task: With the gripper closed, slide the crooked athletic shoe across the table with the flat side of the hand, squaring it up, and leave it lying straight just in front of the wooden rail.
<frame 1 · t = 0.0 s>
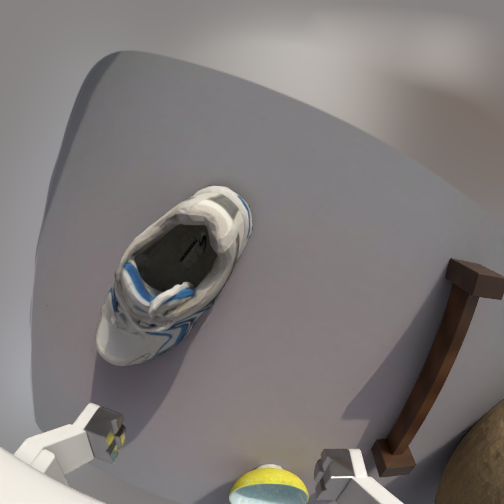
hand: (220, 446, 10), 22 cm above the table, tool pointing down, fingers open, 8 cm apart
wooden rail: (426, 372, 33), on the table
basket: (493, 427, 36), on the table
athletic shoe: (170, 278, 32), on the table
bowl: (269, 470, 39), on the table
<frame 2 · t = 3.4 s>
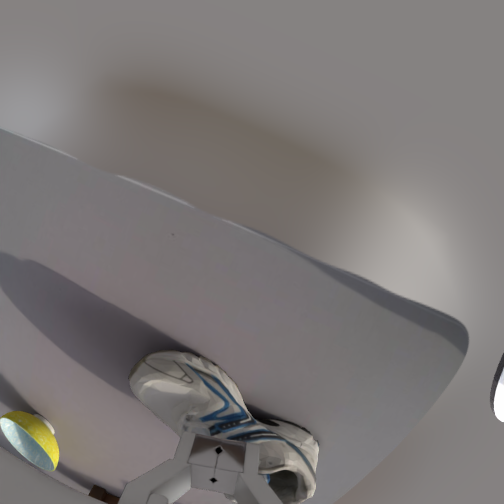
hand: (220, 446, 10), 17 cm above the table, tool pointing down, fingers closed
athletic shoe: (234, 411, 30), on the table
bowl: (44, 423, 35), on the table
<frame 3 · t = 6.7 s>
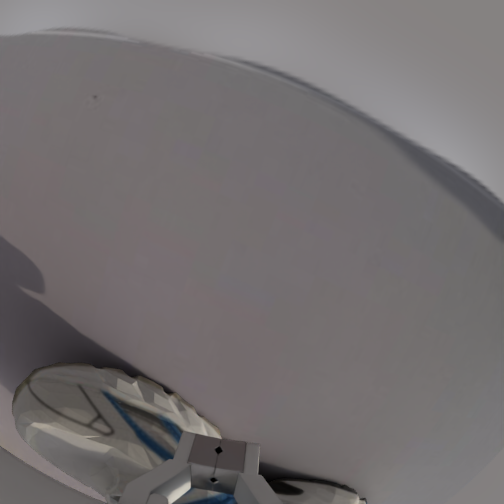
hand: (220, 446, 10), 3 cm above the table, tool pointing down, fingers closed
athletic shoe: (220, 467, 15), on the table, touching gripper
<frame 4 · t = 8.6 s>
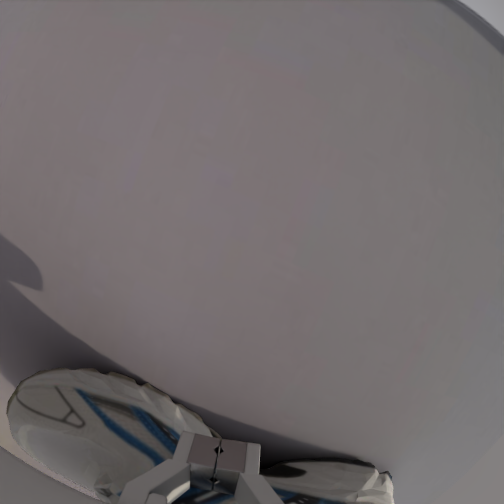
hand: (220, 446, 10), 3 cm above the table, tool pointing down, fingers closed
athletic shoe: (220, 458, 15), on the table, touching gripper
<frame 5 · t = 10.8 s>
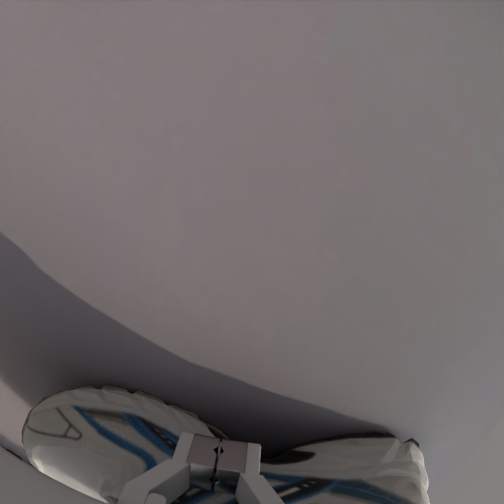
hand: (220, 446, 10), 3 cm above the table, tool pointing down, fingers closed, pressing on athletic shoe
athletic shoe: (232, 454, 15), on the table, touching gripper
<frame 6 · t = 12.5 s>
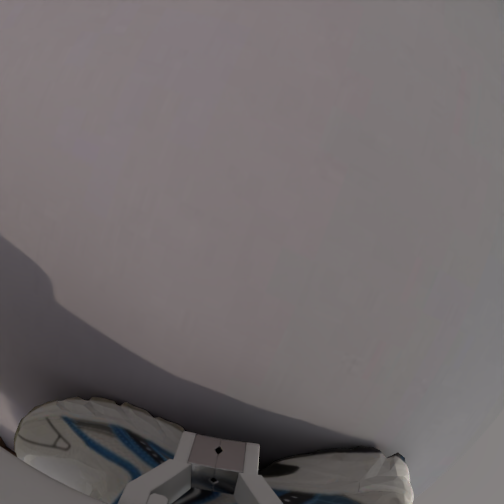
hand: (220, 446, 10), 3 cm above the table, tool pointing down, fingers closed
athletic shoe: (218, 465, 15), on the table
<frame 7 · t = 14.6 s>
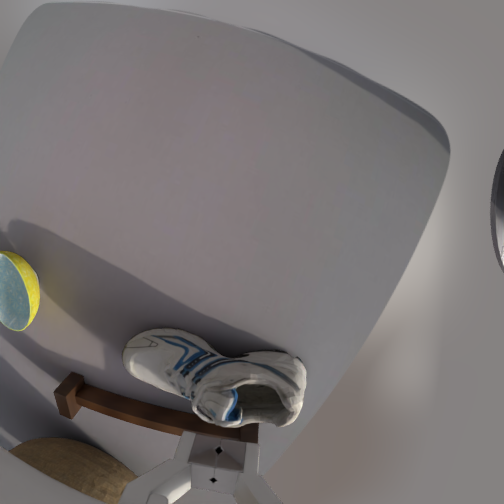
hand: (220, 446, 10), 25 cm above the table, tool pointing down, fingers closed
wooden rail: (157, 409, 41), on the table
basket: (101, 467, 47), on the table
athletic shoe: (217, 361, 38), on the table
bowl: (30, 279, 37), on the table
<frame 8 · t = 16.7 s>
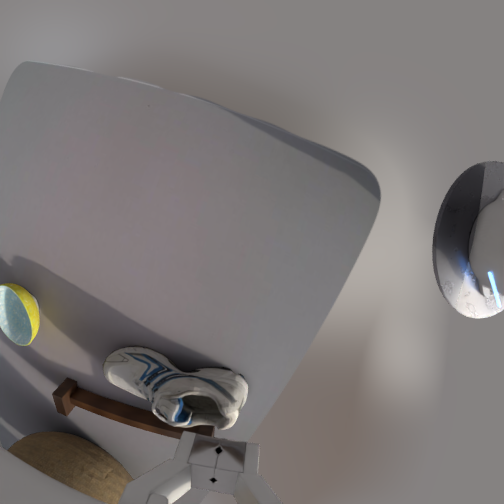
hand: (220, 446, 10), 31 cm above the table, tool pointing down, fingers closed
wooden rail: (135, 410, 49), on the table
basket: (94, 458, 55), on the table
athletic shoe: (177, 373, 46), on the table
bowl: (31, 303, 46), on the table
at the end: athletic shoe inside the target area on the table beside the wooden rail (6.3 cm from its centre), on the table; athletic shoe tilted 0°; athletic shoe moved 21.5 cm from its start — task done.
